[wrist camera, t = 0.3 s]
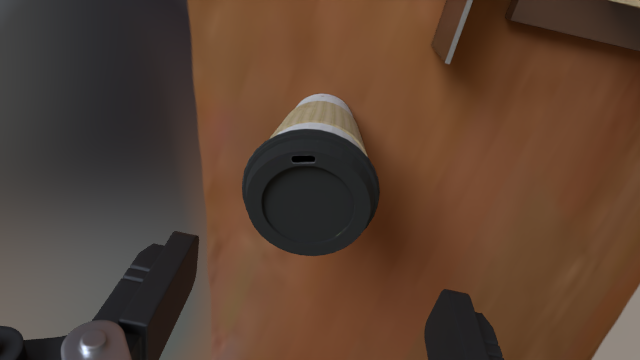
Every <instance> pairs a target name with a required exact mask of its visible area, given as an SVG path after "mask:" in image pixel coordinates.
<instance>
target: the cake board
mask: <svg viewBox="0 0 640 360" xmlns="http://www.w3.org/2000/svg"><path fill="white" fill-rule="evenodd" d="M505 18H506V19H509V20H511V21H515V22H519V23H523V24H527V25H532V26H536V27H540V28H544V29H548V30H553V31H557V32H561V33H565V34H569V35H574V36H578V37H582V38H586V39H590V40H595V41H599V42H603V43H607V44H611V45H616V46H620V47H624V48H628V49H632V50H637V51H640V8H638V7H634V6H629V5H625V4H621V3H617V2H613V1H609V0H512V1H511V3H510V6H509V8H508V11H507V13H506V16H505Z"/></svg>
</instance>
